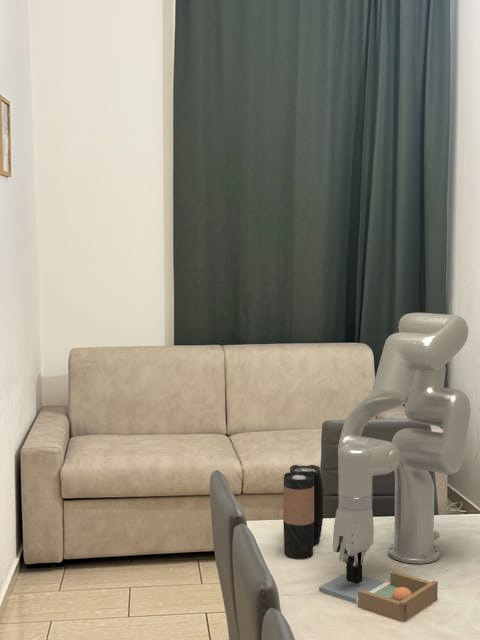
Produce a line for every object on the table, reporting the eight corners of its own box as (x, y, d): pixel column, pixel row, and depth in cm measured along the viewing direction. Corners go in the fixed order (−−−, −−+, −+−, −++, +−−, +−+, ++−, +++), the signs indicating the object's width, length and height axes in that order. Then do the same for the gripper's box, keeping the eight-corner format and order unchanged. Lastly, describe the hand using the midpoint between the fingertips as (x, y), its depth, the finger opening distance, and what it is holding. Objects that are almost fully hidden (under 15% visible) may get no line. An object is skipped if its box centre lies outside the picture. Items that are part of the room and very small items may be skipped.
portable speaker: (280, 539, 222) (280, 466, 220) (310, 533, 226) (311, 461, 224) (298, 550, 214) (299, 474, 212) (329, 543, 219) (329, 469, 217)
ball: (393, 599, 183) (396, 581, 182) (413, 606, 181) (416, 587, 181) (388, 608, 179) (391, 589, 178) (408, 615, 178) (412, 596, 177)
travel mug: (305, 562, 206) (305, 481, 204) (277, 555, 210) (277, 476, 208) (319, 552, 213) (319, 474, 211) (292, 546, 217) (292, 469, 215)
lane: (352, 573, 199) (352, 557, 199) (437, 599, 185) (437, 581, 184) (315, 593, 188) (316, 575, 188) (403, 622, 174) (403, 603, 174)
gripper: (359, 490, 196) (358, 567, 198) (321, 505, 185) (321, 587, 187) (387, 496, 191) (386, 575, 193) (350, 513, 180) (349, 596, 182)
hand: (354, 581), depth 190 cm, fingers closed
